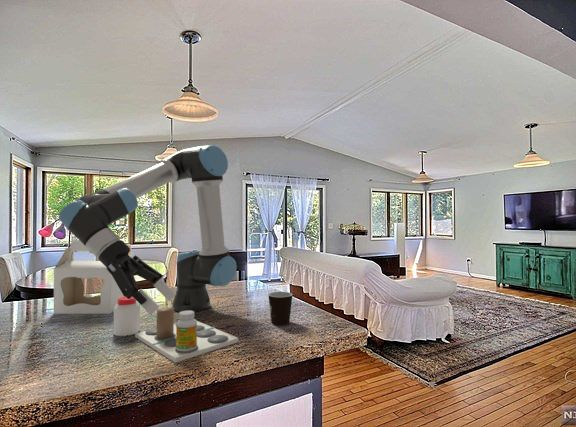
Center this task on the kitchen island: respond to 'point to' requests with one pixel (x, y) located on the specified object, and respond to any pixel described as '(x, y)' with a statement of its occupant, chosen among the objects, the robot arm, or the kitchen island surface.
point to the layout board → (166, 337)
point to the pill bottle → (126, 317)
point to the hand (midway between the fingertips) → (164, 303)
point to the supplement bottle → (186, 331)
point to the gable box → (72, 287)
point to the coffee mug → (280, 307)
